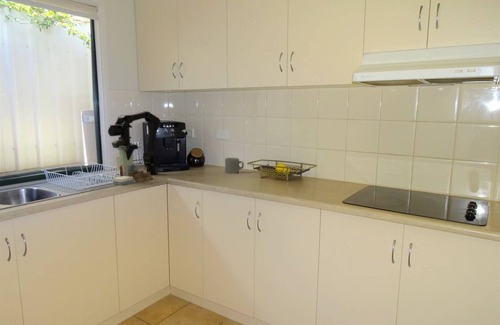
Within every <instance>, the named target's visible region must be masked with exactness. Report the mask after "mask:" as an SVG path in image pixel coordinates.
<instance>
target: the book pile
mask: <svg viewBox="0 0 500 325" xmlns="http://www.w3.org/2000/svg"><path fill="white" fill-rule="evenodd" d="M112 183H115V184H114V185H118V186H125V185H130V184H131V185H132V184H135V183H136V181H135V180H134V179H133V177H129V176H122V177H120V176H117V177H113V178H112Z"/></svg>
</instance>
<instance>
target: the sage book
mask: <svg viewBox="0 0 500 325" xmlns="http://www.w3.org/2000/svg"><path fill="white" fill-rule="evenodd" d="M124 150H126V149H119V150H118V154H119V155H118V156H119V158H120V165H123V166H124V165H133V164H134V154H133V153H134V152H133V153H132V155H131V157H130V159H129V160H127V155H126V151H124Z"/></svg>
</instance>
